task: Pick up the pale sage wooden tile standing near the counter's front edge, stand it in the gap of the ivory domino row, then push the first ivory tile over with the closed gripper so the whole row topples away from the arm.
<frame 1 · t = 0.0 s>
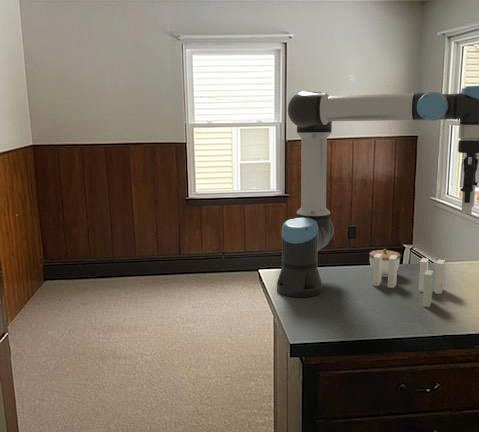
hand: (467, 209, 159), 28 cm above the table, fingers open, 13 cm apart
lidded jar: (384, 274, 190), on the table
tile 1: (377, 283, 180), on the table
tile 2: (392, 285, 177), on the table
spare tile: (427, 304, 159), on the table
tile 4: (423, 289, 173), on the table
tile 5: (439, 291, 171), on the table
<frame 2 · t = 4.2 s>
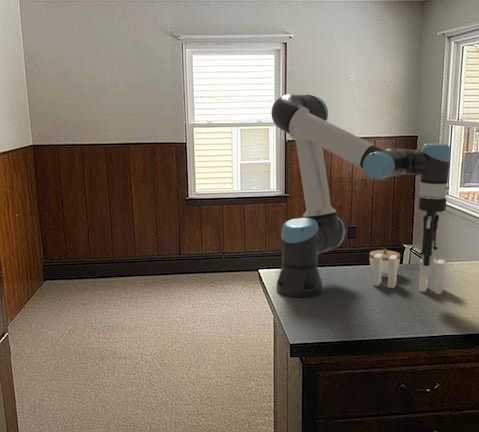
hand: (426, 272, 158), 10 cm above the table, fingers closed on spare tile, 5 cm apart
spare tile: (426, 274, 158), point 9 cm above the table, touching gripper
everything else where it was.
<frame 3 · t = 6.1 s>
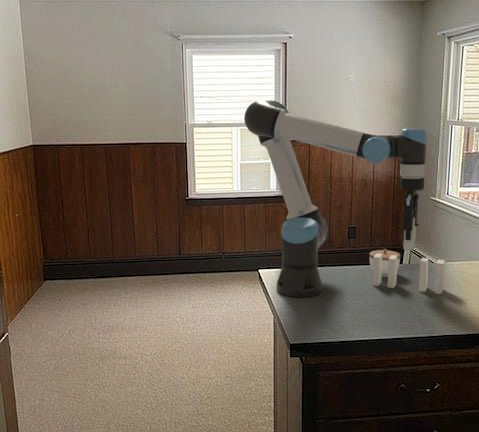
hand: (409, 247, 173), 14 cm above the table, fingers closed on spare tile, 5 cm apart
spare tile: (409, 248, 173), point 13 cm above the table, touching gripper
everything else where it was.
when the fingers open (1 cm above the table, at t = 8.6 s): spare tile stays where it is, on the table.
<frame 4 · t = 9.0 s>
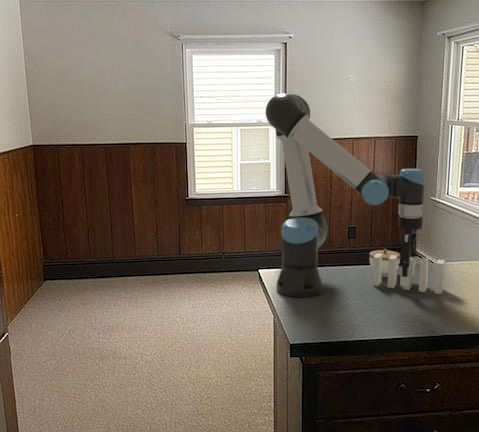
hand: (407, 280, 175), 2 cm above the table, fingers open, 11 cm apart
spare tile: (407, 287, 175), on the table
everything else where it was.
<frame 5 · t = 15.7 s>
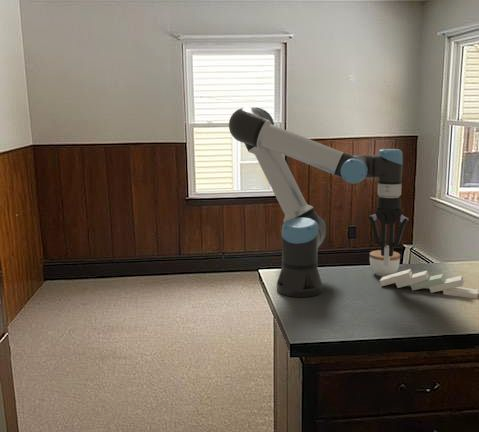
hand: (386, 265, 177), 7 cm above the table, fingers closed
tile 1: (382, 281, 179), point 1 cm above the table, tilted 67°, touching tile 2
tile 2: (397, 283, 177), point 1 cm above the table, tilted 67°, touching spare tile, tile 1
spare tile: (412, 285, 174), point 1 cm above the table, tilted 69°, touching tile 2, tile 4
tile 4: (430, 287, 172), point 1 cm above the table, tilted 69°, touching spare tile
tile 5: (443, 290, 170), on the table, tilted 90°
everything else where it was.
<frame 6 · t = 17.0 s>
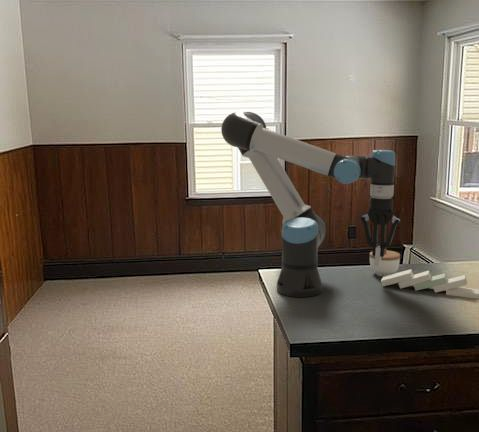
hand: (377, 265, 178), 7 cm above the table, fingers closed
tile 2: (400, 283, 176), point 1 cm above the table, tilted 67°, touching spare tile, tile 1
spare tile: (415, 285, 174), point 1 cm above the table, tilted 69°, touching tile 2
tile 4: (434, 287, 171), point 1 cm above the table, tilted 69°, touching tile 5
tile 5: (446, 290, 170), on the table, tilted 90°, touching tile 4
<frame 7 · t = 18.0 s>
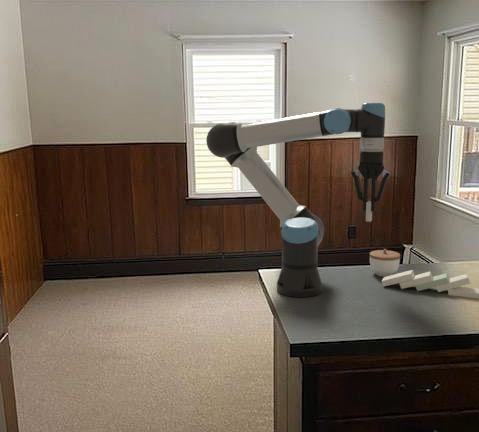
hand: (368, 220, 177), 22 cm above the table, fingers closed
tile 2: (401, 284, 176), point 1 cm above the table, tilted 68°, touching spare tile, tile 1
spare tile: (417, 286, 174), point 1 cm above the table, tilted 68°, touching tile 2, tile 4
tile 4: (436, 287, 171), point 1 cm above the table, tilted 68°, touching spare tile
tile 5: (448, 290, 170), point 1 cm above the table, tilted 90°
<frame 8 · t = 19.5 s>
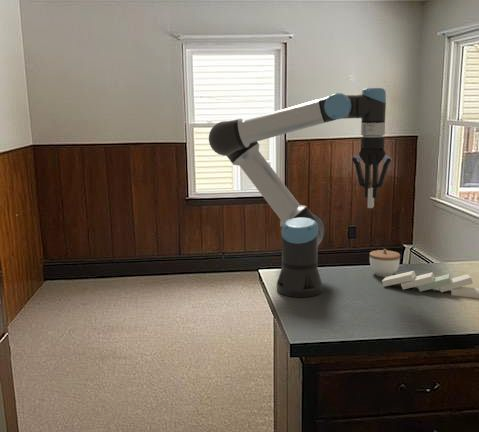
hand: (370, 207, 176), 26 cm above the table, fingers closed
tile 1: (384, 281, 178), point 1 cm above the table, tilted 69°
tile 2: (402, 284, 175), point 1 cm above the table, tilted 68°, touching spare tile
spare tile: (419, 286, 173), point 1 cm above the table, tilted 68°, touching tile 2
tile 4: (438, 287, 171), point 1 cm above the table, tilted 70°, touching tile 5
tile 5: (451, 290, 169), point 1 cm above the table, tilted 90°, touching tile 4
everything else where it was.
at the end: tile 5 tilted 90°; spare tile tilted 68°; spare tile inside the target area (1.6 cm from its centre), point 0.9 cm above the table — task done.
